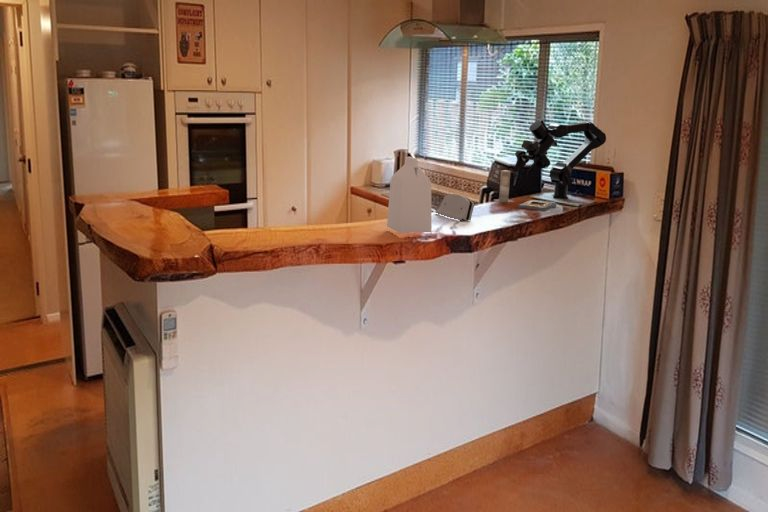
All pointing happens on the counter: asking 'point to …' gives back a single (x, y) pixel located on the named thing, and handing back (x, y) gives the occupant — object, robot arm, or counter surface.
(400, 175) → the milk
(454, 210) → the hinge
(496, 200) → the pad
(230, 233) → the counter surface
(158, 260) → the counter surface
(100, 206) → the counter surface
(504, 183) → the peg
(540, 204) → the rack plate
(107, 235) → the counter surface
